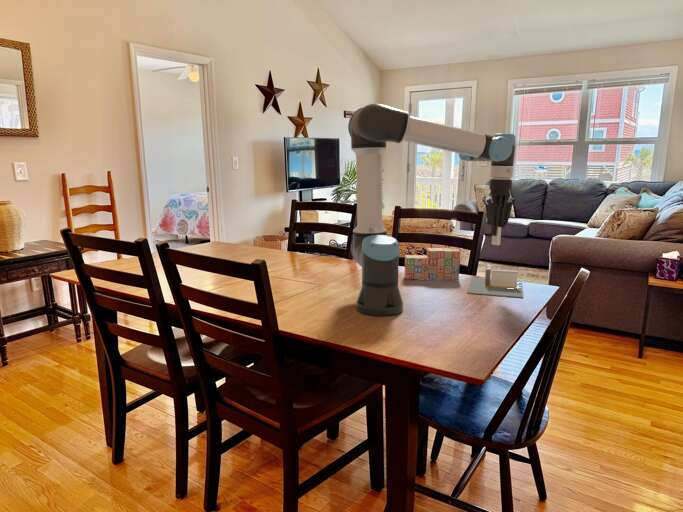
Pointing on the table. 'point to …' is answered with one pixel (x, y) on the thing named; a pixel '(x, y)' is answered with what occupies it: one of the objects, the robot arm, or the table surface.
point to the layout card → (493, 289)
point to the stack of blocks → (433, 265)
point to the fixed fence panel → (489, 266)
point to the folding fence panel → (501, 278)
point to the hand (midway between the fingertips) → (495, 244)
